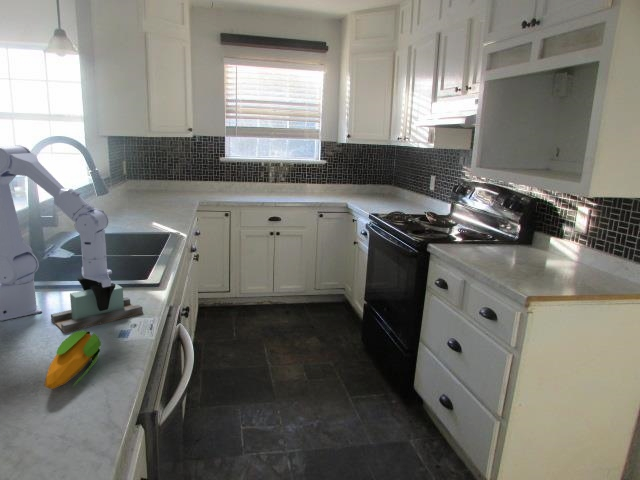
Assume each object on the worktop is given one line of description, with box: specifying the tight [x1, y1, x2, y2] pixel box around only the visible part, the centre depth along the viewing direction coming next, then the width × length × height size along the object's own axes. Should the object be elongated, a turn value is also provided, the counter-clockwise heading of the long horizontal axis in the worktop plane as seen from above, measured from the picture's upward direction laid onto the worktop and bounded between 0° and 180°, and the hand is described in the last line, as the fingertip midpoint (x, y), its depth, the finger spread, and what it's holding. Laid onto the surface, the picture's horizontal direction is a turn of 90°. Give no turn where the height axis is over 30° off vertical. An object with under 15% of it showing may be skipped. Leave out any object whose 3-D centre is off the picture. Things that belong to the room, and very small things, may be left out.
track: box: [50, 297, 144, 334], centre depth 124 cm, size 20×10×2 cm, turn 136°
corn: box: [44, 330, 102, 390], centre depth 95 cm, size 7×8×20 cm
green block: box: [69, 283, 124, 320], centre depth 124 cm, size 12×4×7 cm, turn 136°
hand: (97, 305), depth 124 cm, fingers open, 7 cm apart
